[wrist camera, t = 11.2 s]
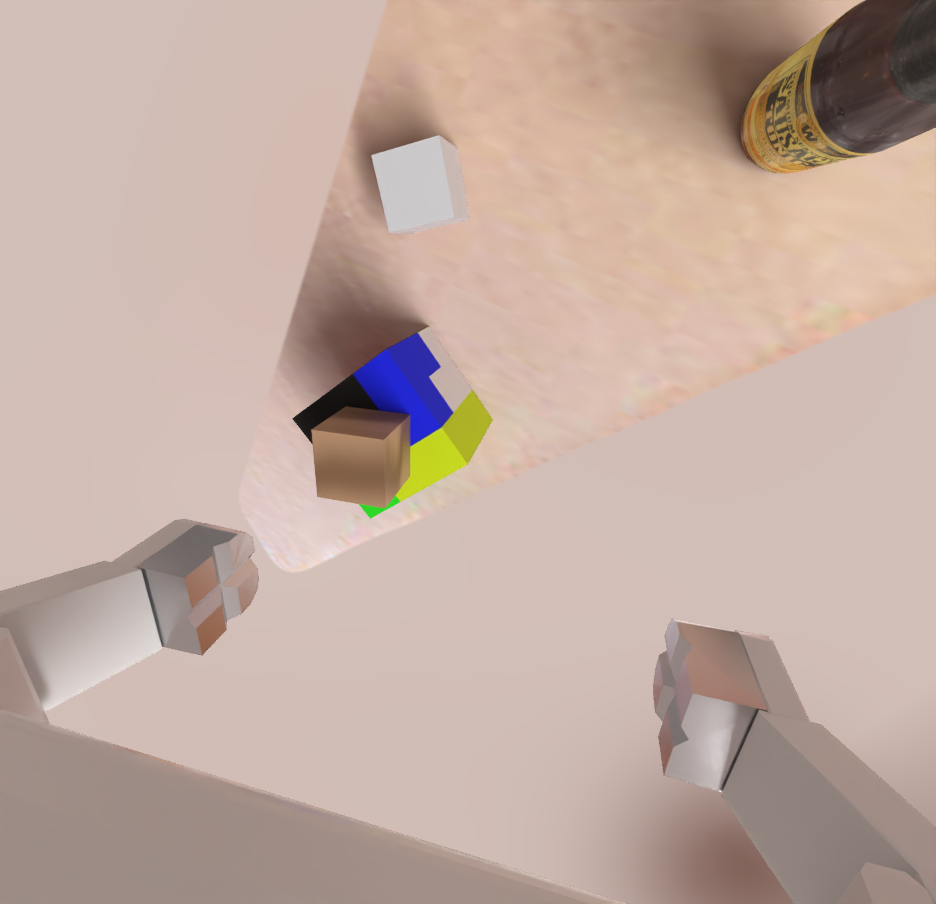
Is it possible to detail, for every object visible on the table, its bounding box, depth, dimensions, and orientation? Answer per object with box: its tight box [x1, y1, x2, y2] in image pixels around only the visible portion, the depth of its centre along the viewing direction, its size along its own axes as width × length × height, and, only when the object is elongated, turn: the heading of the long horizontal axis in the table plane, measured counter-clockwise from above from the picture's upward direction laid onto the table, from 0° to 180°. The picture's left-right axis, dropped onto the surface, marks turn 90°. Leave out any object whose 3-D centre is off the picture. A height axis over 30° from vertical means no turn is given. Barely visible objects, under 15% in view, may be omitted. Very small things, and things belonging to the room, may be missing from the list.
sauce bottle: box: [740, 0, 936, 173], centre depth 23 cm, size 6×6×20 cm
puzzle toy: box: [292, 326, 493, 518], centre depth 41 cm, size 10×10×10 cm
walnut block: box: [311, 406, 410, 508], centre depth 34 cm, size 5×5×5 cm
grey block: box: [371, 135, 470, 234], centre depth 36 cm, size 5×5×5 cm
